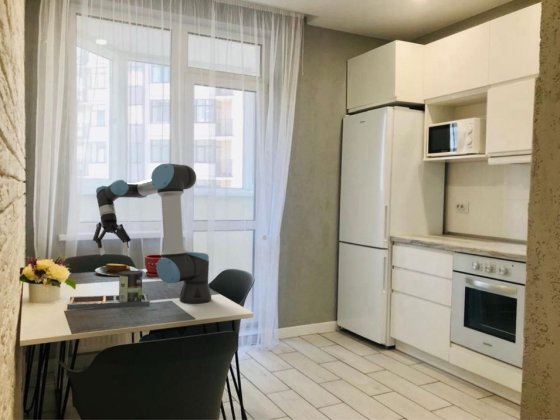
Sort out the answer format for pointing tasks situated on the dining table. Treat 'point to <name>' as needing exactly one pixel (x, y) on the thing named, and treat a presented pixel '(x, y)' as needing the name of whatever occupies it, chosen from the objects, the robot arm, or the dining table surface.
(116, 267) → the food on plate
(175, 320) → the dining table surface
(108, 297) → the gray rectangular tray
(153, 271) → the plant pot
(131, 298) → the coffee can
